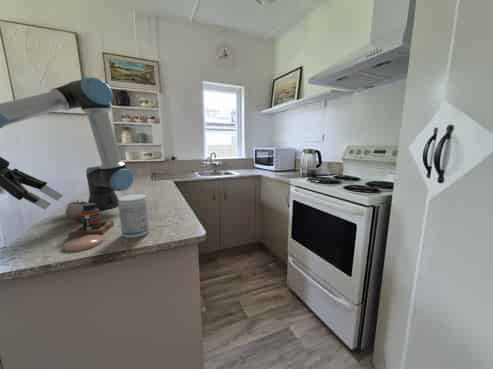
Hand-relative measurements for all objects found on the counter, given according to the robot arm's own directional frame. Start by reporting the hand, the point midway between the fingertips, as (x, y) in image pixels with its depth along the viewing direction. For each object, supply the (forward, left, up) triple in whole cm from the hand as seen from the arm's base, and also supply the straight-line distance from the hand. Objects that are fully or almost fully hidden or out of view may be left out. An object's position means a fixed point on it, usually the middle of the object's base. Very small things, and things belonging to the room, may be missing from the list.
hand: (55, 201), depth 76 cm
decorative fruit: (-18, -3, -14) cm, 23 cm away
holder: (-3, +9, -14) cm, 17 cm away
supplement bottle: (-3, +9, -14) cm, 17 cm away
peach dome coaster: (+9, +12, -14) cm, 20 cm away
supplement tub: (+3, +27, -14) cm, 31 cm away
